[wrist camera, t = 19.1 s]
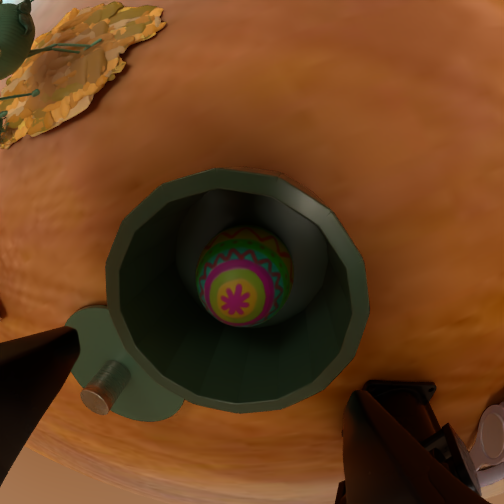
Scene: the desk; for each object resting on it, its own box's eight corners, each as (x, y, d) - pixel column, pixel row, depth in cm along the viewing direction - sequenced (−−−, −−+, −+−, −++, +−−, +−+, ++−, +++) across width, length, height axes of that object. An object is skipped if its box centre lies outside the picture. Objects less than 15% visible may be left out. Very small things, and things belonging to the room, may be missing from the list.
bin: (353, 185, 16) (399, 200, 9) (316, 343, 19) (326, 425, 12) (176, 158, 17) (108, 158, 10) (165, 315, 20) (115, 381, 13)
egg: (204, 221, 17) (166, 249, 12) (290, 215, 17) (292, 241, 11) (215, 299, 19) (186, 353, 13) (294, 296, 18) (296, 353, 12)
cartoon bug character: (-7, 81, 16) (-121, 61, 2) (164, -15, 15) (94, -143, 1) (0, 173, 19) (-136, 193, 4) (188, 81, 17) (78, -60, 3)
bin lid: (192, 321, 20) (166, 365, 15) (187, 427, 23) (171, 469, 18) (60, 286, 21) (20, 313, 16) (80, 390, 24) (54, 422, 19)
